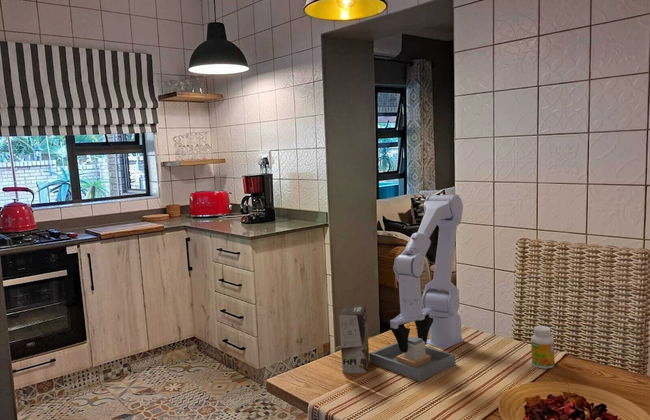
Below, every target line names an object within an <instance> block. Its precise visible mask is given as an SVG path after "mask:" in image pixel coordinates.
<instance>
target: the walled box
mask: <svg viewBox="0 0 650 420" xmlns="http://www.w3.org/2000/svg"><path fill="white" fill-rule="evenodd" d="M403 353H404V352H402V351H400V349H399V345H398V342H397V341H396V342H395V343H391V344H389V345H387V346H384V347H382V348H380V349H377V350H374V351H372V352H369V364H373V365H374V366H378V367H379V368H380V367H381V368H382V369H386V370H388V371H391V372H393V373H396V374H399V375H402V376H404V377H406V378H409V379H412V380H415V381H418V382H423V381H424V380H427V379H430V378H431V377H434V376H435V375H437V374H439V373H441V372H443V371H446V370H447V369H449V368H452V367H454V366H456V364H457V363H456V354H453V353H451V352H447V351H443V350H441V349H436V348H434V347H431V346H427V345H425V353H426V354H428V355H431V357H432V360H430V361H428V362H426V363H424V364H421V365H419V366H417V367H413V366H410V365H407V364H404V363H401V362H399V361H396V356H399V355H401V354H403Z"/></svg>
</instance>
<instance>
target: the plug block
mask: <svg viewBox="0 0 650 420" xmlns="http://www.w3.org/2000/svg"><path fill="white" fill-rule="evenodd" d="M425 346H426V344H425V342H424V341H423V339H421V338H418V336H412V337H408V351H407V352H406V353H405V352H404V355H405V359H408V360H411V361H414V362H415V361H417V360H420V359H422V358H424V357H426V353H425Z"/></svg>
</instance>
